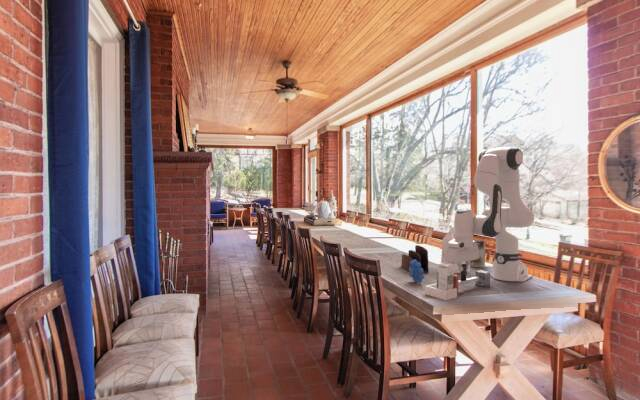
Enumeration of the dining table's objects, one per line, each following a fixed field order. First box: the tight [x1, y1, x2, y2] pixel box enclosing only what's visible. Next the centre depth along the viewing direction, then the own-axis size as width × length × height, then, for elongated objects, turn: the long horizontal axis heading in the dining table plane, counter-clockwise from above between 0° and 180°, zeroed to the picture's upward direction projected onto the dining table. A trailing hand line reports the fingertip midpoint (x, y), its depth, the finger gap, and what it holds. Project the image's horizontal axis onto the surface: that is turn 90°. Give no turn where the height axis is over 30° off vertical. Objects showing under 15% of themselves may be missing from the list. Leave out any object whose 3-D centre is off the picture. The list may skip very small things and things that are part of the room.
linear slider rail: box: [454, 263, 482, 295], centre depth 201 cm, size 24×7×12 cm, turn 124°
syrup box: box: [436, 262, 455, 291], centre depth 193 cm, size 6×6×14 cm
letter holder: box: [401, 244, 429, 274], centre depth 246 cm, size 10×20×14 cm, turn 7°
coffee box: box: [470, 239, 486, 268], centre depth 255 cm, size 9×6×16 cm
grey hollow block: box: [474, 269, 491, 288], centre depth 209 cm, size 4×5×7 cm
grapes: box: [408, 259, 425, 284], centre depth 215 cm, size 12×7×12 cm, turn 22°
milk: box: [440, 226, 471, 274], centre depth 243 cm, size 12×12×26 cm
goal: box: [424, 282, 458, 301], centre depth 191 cm, size 8×12×4 cm, turn 34°
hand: (463, 270), depth 200 cm, fingers open, 3 cm apart
